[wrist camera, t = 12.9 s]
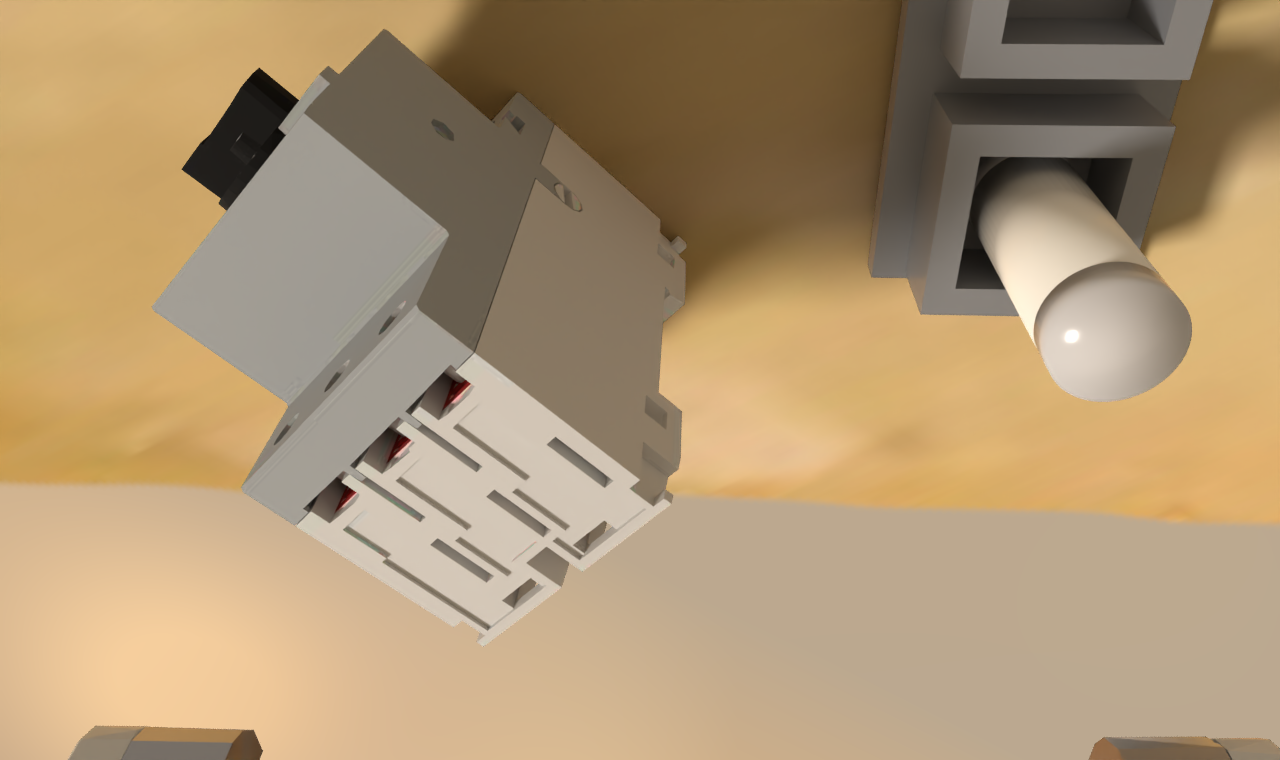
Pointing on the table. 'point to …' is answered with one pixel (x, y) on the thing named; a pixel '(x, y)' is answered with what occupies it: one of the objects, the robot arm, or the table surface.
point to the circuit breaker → (437, 331)
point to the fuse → (1077, 279)
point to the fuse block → (1020, 123)
